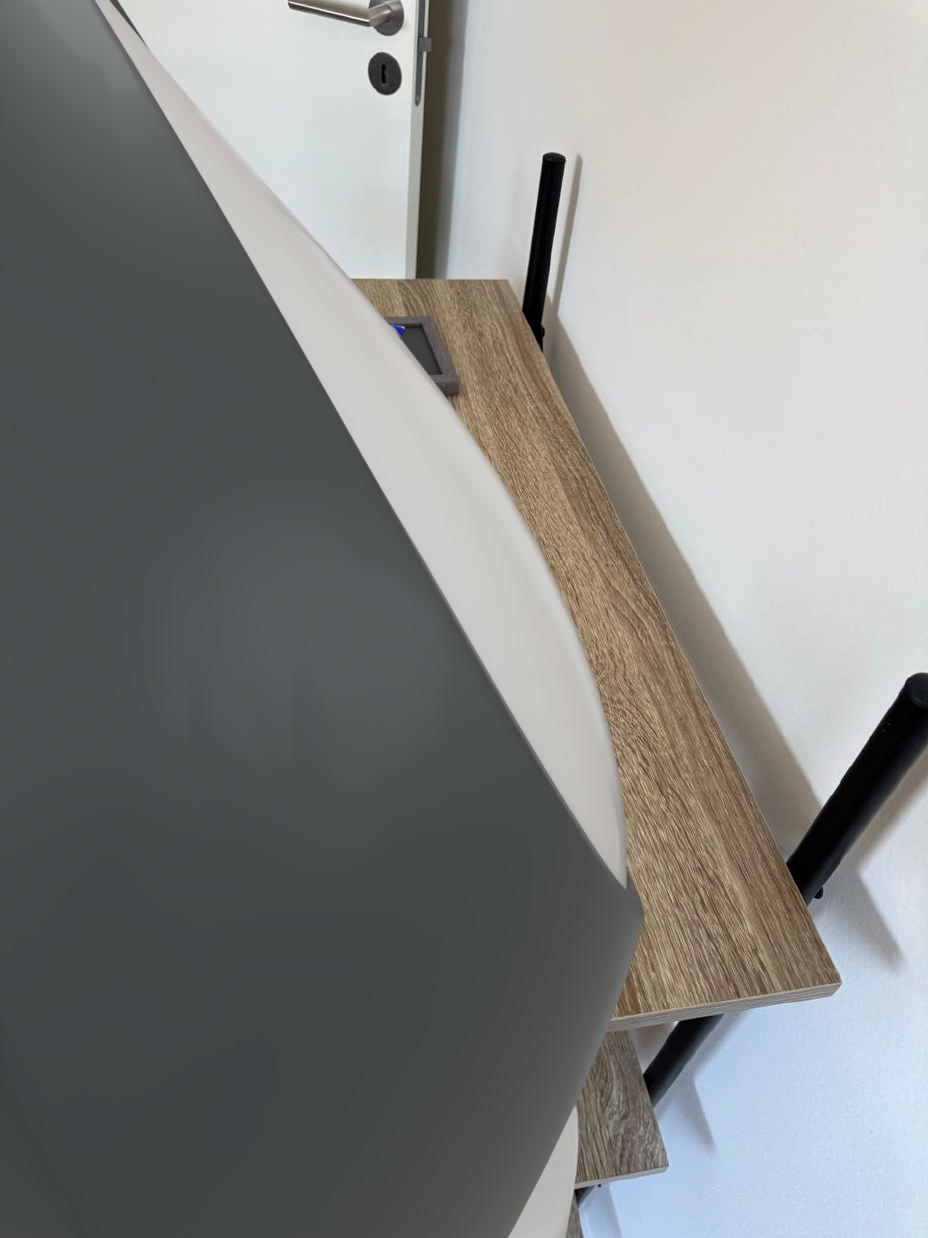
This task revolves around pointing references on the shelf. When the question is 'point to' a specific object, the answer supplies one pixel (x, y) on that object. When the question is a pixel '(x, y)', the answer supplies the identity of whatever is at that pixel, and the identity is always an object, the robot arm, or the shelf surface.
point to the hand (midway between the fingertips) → (258, 992)
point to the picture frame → (428, 350)
